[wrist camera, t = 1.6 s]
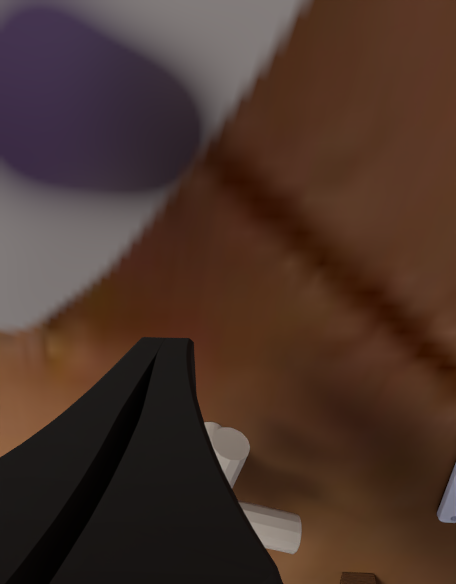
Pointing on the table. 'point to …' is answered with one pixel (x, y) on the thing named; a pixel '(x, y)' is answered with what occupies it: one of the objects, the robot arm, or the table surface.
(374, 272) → the table surface
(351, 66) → the table surface
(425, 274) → the table surface
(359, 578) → the shaft
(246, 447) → the pipe connector
